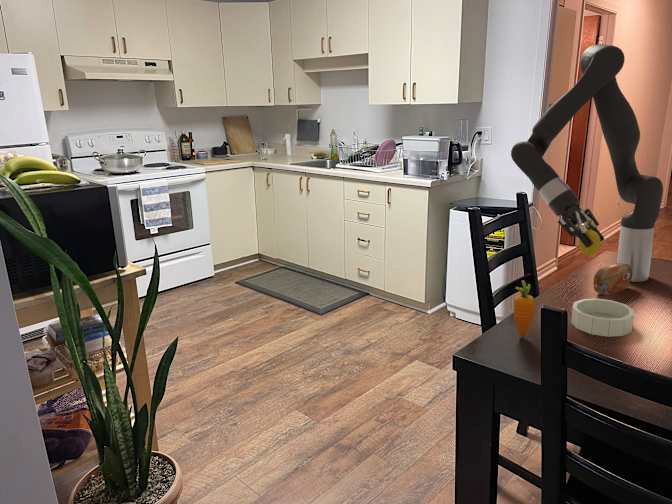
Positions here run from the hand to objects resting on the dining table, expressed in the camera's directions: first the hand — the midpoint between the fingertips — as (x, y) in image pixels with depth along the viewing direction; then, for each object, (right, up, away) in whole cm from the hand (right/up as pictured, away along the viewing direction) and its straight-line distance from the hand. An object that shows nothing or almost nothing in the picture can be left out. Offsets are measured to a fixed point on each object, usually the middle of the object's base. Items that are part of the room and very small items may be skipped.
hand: (595, 243), depth 142 cm
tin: (+11, -15, +13) cm, 22 cm away
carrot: (-26, -24, -14) cm, 38 cm away
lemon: (-1, -4, +3) cm, 5 cm away
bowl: (-3, -22, -9) cm, 24 cm away
